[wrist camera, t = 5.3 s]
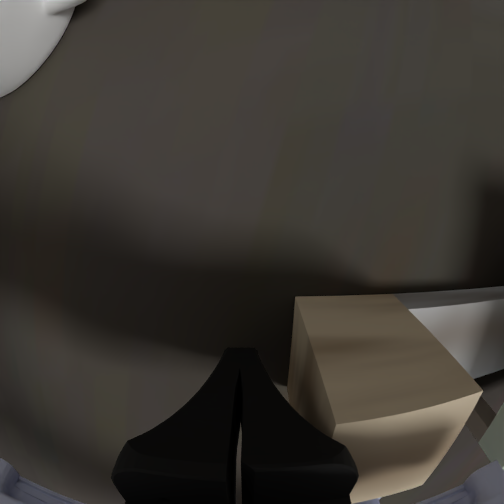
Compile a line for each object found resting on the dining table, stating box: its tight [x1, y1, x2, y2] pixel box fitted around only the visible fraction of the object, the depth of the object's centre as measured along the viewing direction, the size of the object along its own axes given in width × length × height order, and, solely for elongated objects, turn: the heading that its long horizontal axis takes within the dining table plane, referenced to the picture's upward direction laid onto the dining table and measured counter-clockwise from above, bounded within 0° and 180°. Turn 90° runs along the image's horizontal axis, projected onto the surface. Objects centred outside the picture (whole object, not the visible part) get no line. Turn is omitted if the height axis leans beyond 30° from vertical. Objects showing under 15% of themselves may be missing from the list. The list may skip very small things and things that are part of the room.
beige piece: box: [287, 286, 504, 504], centre depth 10 cm, size 5×20×7 cm, turn 89°
